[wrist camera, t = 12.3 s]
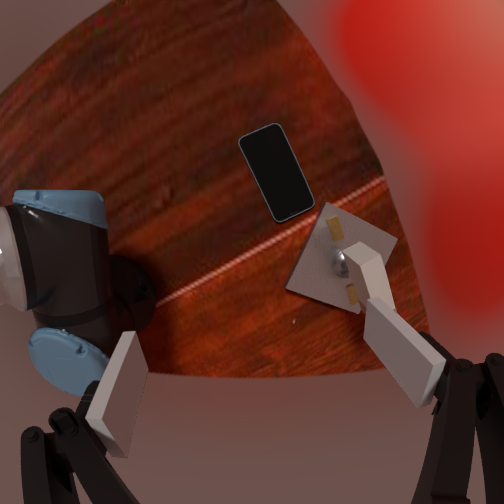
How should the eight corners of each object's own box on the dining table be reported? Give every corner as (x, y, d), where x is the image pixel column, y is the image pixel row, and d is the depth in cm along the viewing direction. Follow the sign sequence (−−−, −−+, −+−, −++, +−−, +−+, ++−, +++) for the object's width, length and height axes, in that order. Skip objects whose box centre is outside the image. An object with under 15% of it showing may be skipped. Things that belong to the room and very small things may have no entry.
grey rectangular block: (337, 248, 43) (359, 266, 35) (356, 238, 43) (381, 254, 35) (357, 305, 46) (378, 329, 38) (374, 295, 46) (398, 318, 38)
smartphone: (278, 120, 43) (316, 205, 47) (277, 121, 44) (315, 204, 48) (235, 139, 43) (276, 224, 47) (235, 140, 44) (275, 223, 48)
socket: (355, 310, 54) (369, 327, 48) (283, 284, 51) (291, 301, 45) (393, 236, 50) (412, 246, 44) (323, 200, 47) (337, 206, 41)
